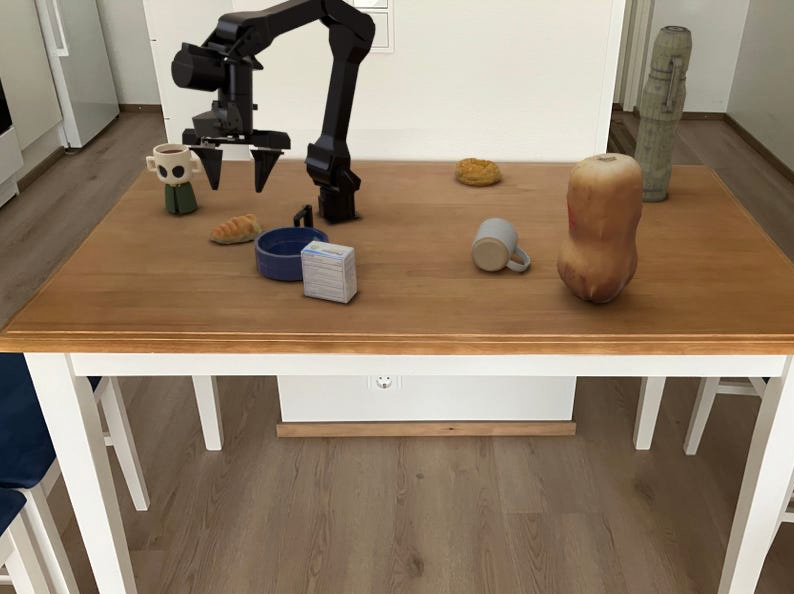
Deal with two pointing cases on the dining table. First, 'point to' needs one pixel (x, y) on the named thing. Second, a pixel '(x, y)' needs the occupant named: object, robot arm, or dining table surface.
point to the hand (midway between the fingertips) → (236, 191)
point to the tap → (304, 216)
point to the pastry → (237, 230)
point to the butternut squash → (601, 226)
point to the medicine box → (329, 271)
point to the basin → (284, 251)
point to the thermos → (662, 109)
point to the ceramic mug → (497, 246)
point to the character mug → (176, 175)
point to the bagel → (477, 172)
